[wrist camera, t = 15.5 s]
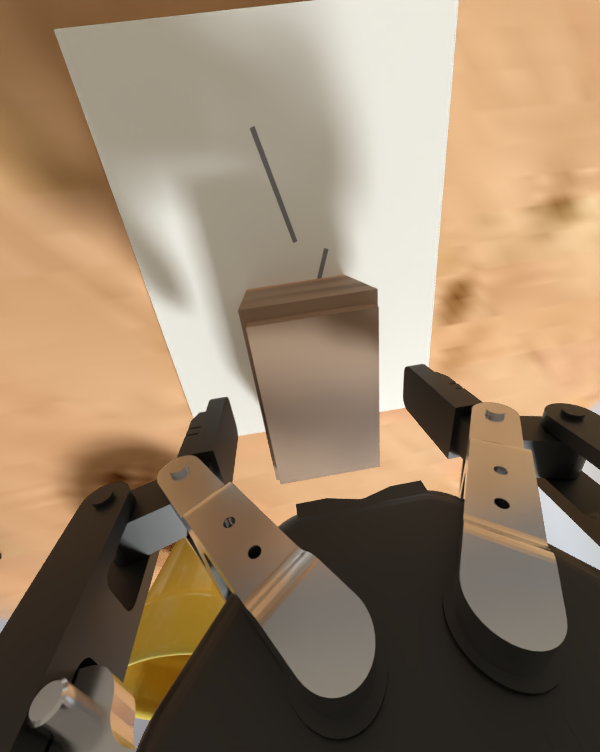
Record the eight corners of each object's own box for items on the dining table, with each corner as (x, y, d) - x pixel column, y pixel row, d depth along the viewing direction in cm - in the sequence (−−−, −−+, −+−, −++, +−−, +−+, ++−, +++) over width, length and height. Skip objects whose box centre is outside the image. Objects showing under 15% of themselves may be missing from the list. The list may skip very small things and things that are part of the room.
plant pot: (155, 576, 28) (104, 732, 19) (152, 502, 24) (85, 657, 15) (260, 576, 30) (257, 718, 21) (275, 508, 25) (279, 648, 17)
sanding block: (246, 289, 15) (235, 315, 10) (344, 274, 16) (385, 292, 10) (274, 422, 19) (277, 492, 14) (352, 409, 20) (384, 472, 14)
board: (78, 54, 12) (53, 28, 11) (438, 13, 13) (459, -17, 11) (206, 428, 21) (202, 442, 19) (414, 393, 22) (425, 404, 20)
